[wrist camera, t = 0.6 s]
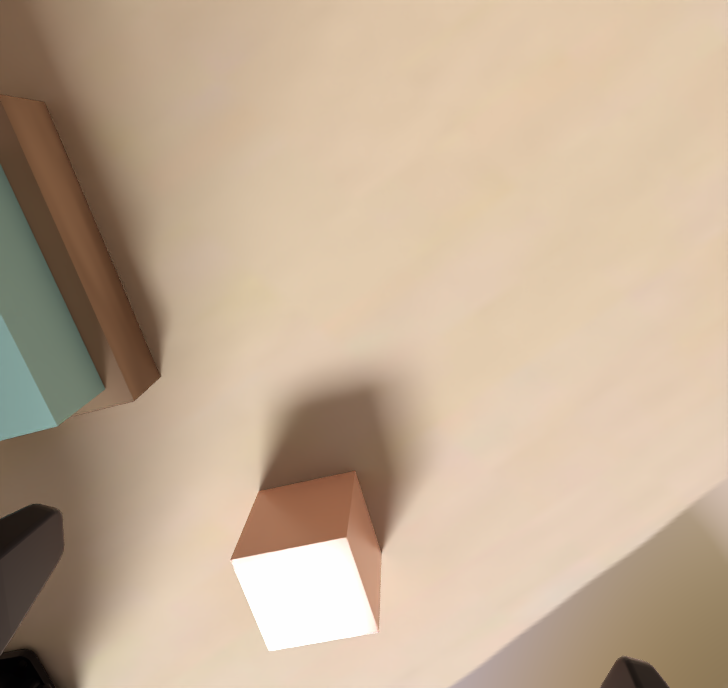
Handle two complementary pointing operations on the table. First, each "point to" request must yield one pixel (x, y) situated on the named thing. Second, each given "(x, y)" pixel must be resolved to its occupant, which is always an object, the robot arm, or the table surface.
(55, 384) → the tower top
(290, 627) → the terracotta cube
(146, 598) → the table surface
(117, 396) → the tower base
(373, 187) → the table surface
